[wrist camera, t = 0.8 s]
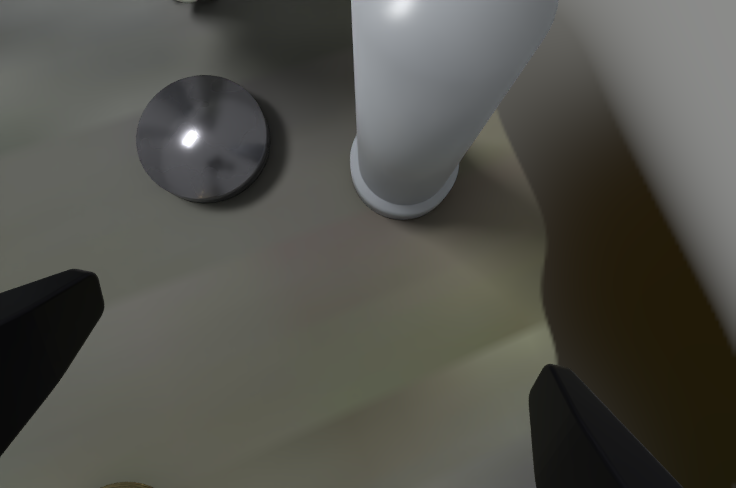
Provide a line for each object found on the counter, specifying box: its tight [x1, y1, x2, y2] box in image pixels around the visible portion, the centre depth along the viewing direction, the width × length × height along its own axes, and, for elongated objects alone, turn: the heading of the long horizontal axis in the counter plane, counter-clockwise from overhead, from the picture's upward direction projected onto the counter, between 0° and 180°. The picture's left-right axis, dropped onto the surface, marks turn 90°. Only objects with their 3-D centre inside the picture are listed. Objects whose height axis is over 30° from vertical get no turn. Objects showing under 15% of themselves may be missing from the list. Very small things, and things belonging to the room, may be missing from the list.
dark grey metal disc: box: [136, 75, 270, 203], centre depth 22 cm, size 7×7×1 cm
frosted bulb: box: [350, 0, 558, 220], centre depth 15 cm, size 5×5×13 cm
